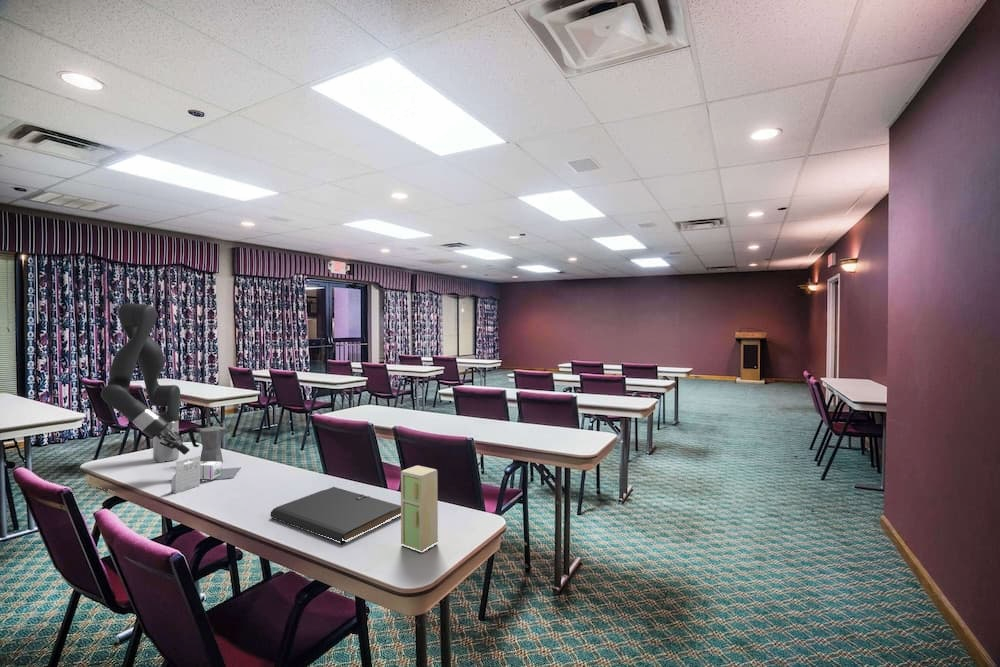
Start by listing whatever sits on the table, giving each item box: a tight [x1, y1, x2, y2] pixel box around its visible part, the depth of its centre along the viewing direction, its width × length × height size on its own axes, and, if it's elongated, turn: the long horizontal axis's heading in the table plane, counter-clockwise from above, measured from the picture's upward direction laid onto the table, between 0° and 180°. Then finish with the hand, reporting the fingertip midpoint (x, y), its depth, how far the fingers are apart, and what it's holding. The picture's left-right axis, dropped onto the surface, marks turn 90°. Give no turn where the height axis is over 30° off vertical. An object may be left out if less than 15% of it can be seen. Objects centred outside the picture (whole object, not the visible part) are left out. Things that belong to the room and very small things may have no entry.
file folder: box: [269, 486, 401, 543], centre depth 147 cm, size 33×4×24 cm
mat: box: [200, 466, 241, 482], centre depth 186 cm, size 18×14×1 cm
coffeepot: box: [188, 421, 229, 463], centre depth 202 cm, size 15×9×18 cm, turn 103°
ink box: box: [170, 455, 201, 494], centre depth 170 cm, size 3×9×12 cm, turn 160°
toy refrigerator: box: [400, 465, 439, 551], centre depth 128 cm, size 8×7×21 cm
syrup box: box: [175, 460, 223, 479], centre depth 182 cm, size 6×6×14 cm
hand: (187, 452), depth 184 cm, fingers closed
